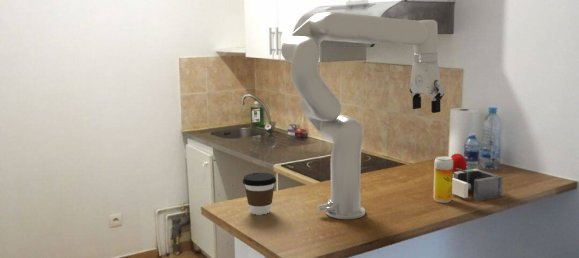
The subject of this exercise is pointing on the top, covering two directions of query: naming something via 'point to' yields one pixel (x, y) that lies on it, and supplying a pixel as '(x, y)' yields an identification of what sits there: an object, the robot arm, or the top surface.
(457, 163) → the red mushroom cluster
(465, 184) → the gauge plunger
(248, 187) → the coffee cup
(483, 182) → the gauge frame
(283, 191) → the top surface
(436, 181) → the beer can
